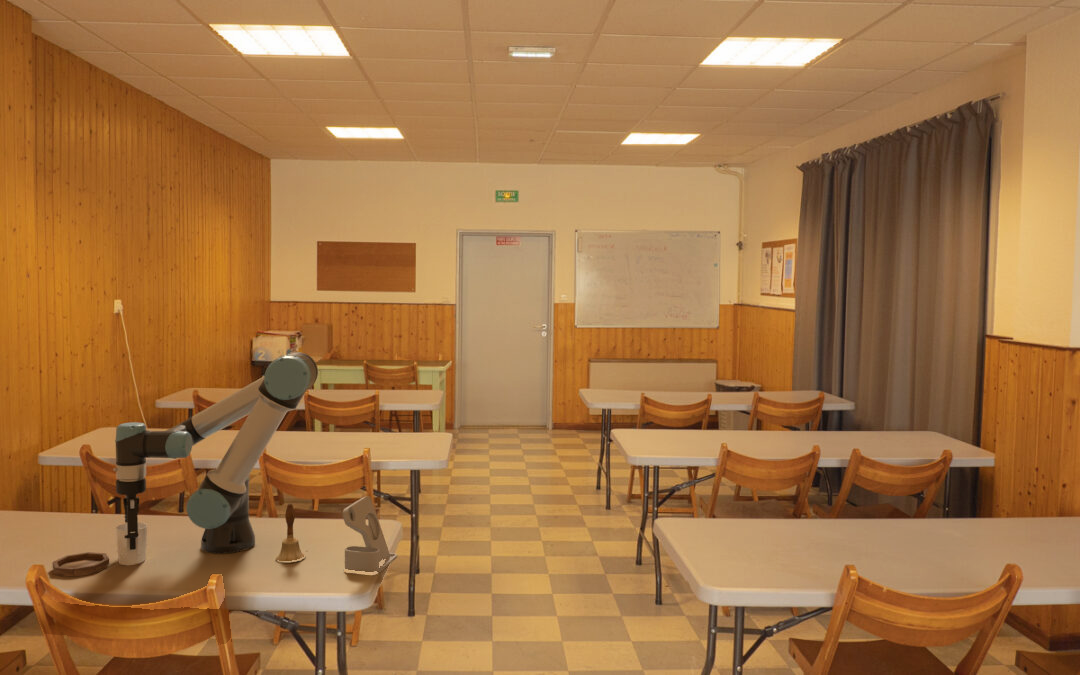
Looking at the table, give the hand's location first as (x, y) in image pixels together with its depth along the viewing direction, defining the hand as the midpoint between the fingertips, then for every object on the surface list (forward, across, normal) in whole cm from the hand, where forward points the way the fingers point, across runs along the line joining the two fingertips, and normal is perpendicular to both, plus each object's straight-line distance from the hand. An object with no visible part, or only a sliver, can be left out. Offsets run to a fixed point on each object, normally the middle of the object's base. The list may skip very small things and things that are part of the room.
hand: (131, 552), depth 230 cm
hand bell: (+2, +17, +40) cm, 44 cm away
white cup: (+3, 0, 0) cm, 3 cm away
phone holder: (+2, +31, +60) cm, 67 cm away
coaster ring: (+2, 0, -12) cm, 13 cm away
